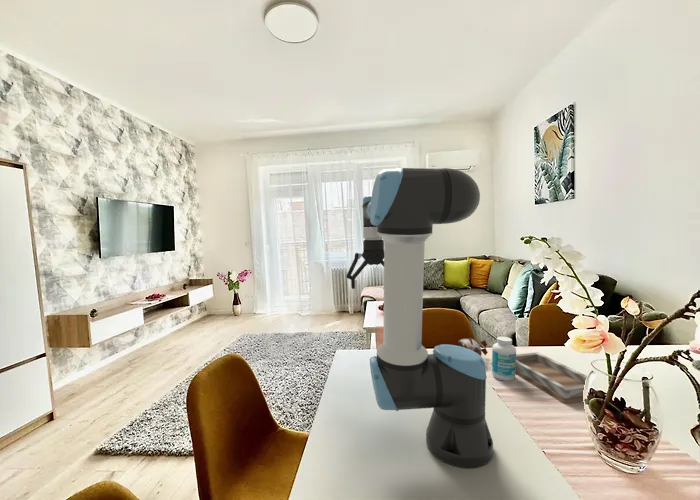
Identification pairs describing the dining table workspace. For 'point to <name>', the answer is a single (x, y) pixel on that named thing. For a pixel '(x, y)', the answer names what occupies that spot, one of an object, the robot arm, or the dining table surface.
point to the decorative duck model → (473, 345)
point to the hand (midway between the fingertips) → (374, 297)
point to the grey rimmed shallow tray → (551, 376)
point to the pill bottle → (504, 359)
